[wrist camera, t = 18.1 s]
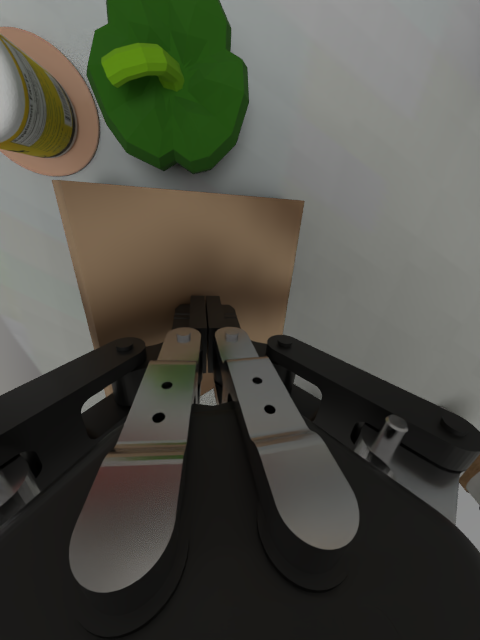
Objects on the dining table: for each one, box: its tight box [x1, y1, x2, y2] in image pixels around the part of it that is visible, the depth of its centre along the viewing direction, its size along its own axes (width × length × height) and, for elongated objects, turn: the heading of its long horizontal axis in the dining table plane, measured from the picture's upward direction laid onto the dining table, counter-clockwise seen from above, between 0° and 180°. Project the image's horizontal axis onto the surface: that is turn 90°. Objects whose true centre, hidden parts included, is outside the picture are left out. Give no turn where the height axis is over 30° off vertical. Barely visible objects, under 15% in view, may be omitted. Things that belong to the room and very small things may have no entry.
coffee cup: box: [439, 406, 480, 509], centre depth 36 cm, size 8×8×15 cm
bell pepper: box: [86, 0, 249, 174], centre depth 14 cm, size 8×8×10 cm
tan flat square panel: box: [52, 180, 304, 397], centre depth 15 cm, size 12×14×1 cm
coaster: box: [0, 27, 100, 176], centre depth 17 cm, size 8×8×1 cm
